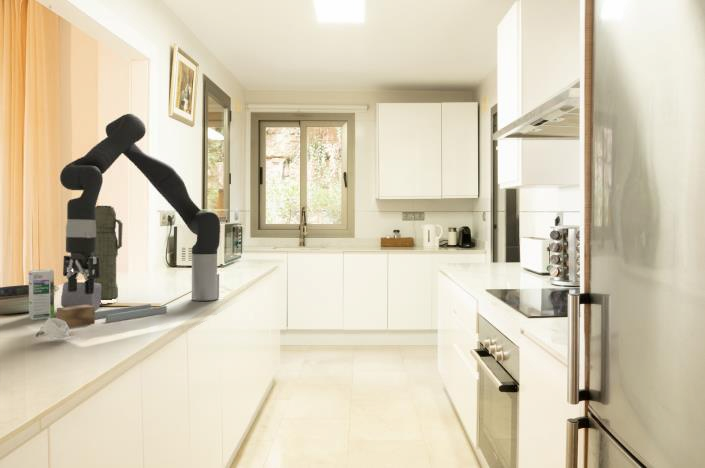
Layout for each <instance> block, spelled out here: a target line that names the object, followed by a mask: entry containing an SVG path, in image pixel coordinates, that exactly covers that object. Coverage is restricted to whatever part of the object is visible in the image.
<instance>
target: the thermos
mask: <svg viewBox="0 0 705 468" xmlns="http://www.w3.org/2000/svg"><path fill="white" fill-rule="evenodd" d="M95 223H96V251H95V252H93V253H91V255H92V257H99V278H96V279H95V280H94V283H98V284H101V300H112V299H116V298H117V299H118V297H119V287H118V283H117V257H118V255H119V253H118V252H119V251H118V250H120V249H121V248H122V247H123V225H124V224H123V222H122V221H121V220H120V219H117V215H116V211H115V208H114V206H113V207H112V205H96V207H95ZM117 224H118V231H116V228H117ZM117 233H118V237H117ZM94 274H95V271H94Z"/></svg>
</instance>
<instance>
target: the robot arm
mask: <svg viewBox="0 0 705 468" xmlns="http://www.w3.org/2000/svg"><path fill="white" fill-rule="evenodd" d="M146 129H147V128H146V126H145V123H144V122H143V120H142V119H141V118H140V117H139V116H138V115H136V114H134V113H126V114H123V115H121V116H119V117H118V118H116V119H115V120H113V121H111V122H110V123H108V124H107V125H105V134H106V137H105V138H103V139H102V140H101V141H100V142H97V144H95V146H93V147H92V148H91V149H90V150H89V151H88V152H87V153H86V154H85V155H84V156H82V157H79V158H77V159H75V160H73V161H72V162H70V163H68V164H67V165H65V166H64V167H63V169H62V170H61V172H60V176H59V180H60V183H61V185H62V187H64V189H67V190H68V191H82V193H81V195H80V196H78V197H75V198H71V199H69V200H68V201H67V205H66V206H67V207H66V214H67V215H66V218H67V220H66V226H65V252H66V253H68V254H69V253H70V255H64V256H63V265H62V266H63V267H62V268H63V269H62V270H63V271H62V275H63V277H66V279H67V282H68V291H69V292H75V291H77V282H78V276H79V274H80V275H82V276H83V278H84V282H85V294H93V293H94V280H95V279H96V278H99V257H92V255H91V253H93V252H95V251H96V223H95V207H97V201H98V199H99V195H100V192H101V188H102V185H103V179H104V178H103V174H105V173H106V172H107V170H109V169H110V167H111V166H112V165H113V164H114V163H115V162H116V161H117V160H118V159H119V157H120V156H121V155H122V154H123V156H125V157H126V158H127V159H128V160H129V161H130V162H131V163H132V164H134V166H135V167H136V168H137V169H138V170H139V171H140V172H141V173H142V175H144V177H146V179H147V181H149V182H150V184H151V186H153V187H154V189H156V191H157V192H158V193H159V194H160V195H161V196H162V197H163V198H164V200H165V201H166V202H167V203H168V204H169V205H170V206H171V207H172V208H173V209H174V210H175V212H176V213H177V214H178V215H179V217H180V218H181V219H182V221H183V223H184V224H185V226H187V228H188V229H189V230H190V232H191V233H192V234H194V235H196V242H195V243H194V244H193V245H192V247H191V300H192V301H198V302H199V301H200V302H201V301H214V300H215V301H216V300H217V299H220V273H218V249H219V246H220V242H221V241H220V238H221V222H220V221H221V220H220V218H219V216H218V215H217V214H216V213H215V212H213V211H207V210H205V211H203V210H201V209H200V207H198V206H197V204H196V203H195V202H194V201H193V200H192V199H191V196H190V194H189V192H188V190H187V187H186V185H185V182H184V180H183V178H182V177H181V176H180V175H179V174H178V173H177V171H176V170H175V169H174V167H172V166H171V165H170V164H169V163H167V162H165V161H163V160H161V159H159V158H156V157H154V156H152V155H150V154H148V153H146V152H145V151H143V150H142V149H141V147H140V146H138V145H137V144H136V143H137V142H138V141H141V140H142V139H143V138H144V136H145V135H146V131H147V130H146ZM94 271H95V274H94Z"/></svg>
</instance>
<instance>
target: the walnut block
mask: <svg viewBox="0 0 705 468" xmlns="http://www.w3.org/2000/svg"><path fill="white" fill-rule="evenodd" d="M95 312H96V311H95V306H91V305H79V306H71V307H63V306H61V307H57V308H56V318H58V319H61V320H63V321H65V322H66V323H67V325H68V327H69V328H72V327H80V326H86V325H93V324H95V323H96V322H95V321H96V319H95Z"/></svg>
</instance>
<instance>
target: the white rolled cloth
mask: <svg viewBox="0 0 705 468" xmlns="http://www.w3.org/2000/svg"><path fill="white" fill-rule="evenodd" d="M45 335H46V336H48V337H49V338H51V339H53V338H58V339H66V338H68V337H69V336H70V327H68V325H67V323H66V322H65V321H63V320H61V319H58V318H57V317H54V318H48V319H45V322H44V323H43V326H40V327H39V330H38V332H36V334H35V337H36V338H38V337H42V336H45Z"/></svg>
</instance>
